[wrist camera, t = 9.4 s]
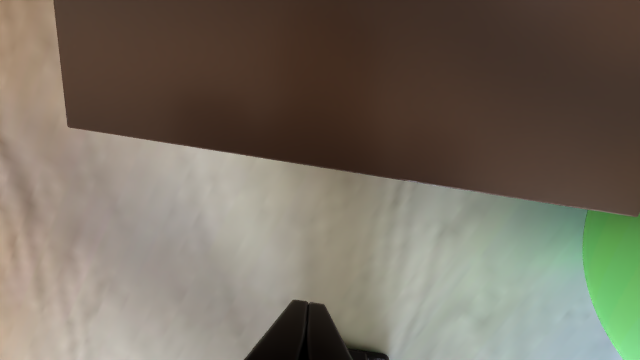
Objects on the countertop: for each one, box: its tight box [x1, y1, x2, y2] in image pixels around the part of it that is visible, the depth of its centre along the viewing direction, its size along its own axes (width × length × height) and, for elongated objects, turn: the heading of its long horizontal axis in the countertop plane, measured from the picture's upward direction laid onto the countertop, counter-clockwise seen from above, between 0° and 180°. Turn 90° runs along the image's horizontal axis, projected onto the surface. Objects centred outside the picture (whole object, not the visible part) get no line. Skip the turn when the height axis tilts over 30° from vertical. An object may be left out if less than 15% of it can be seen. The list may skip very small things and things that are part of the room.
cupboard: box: [54, 0, 640, 217], centre depth 13 cm, size 11×18×9 cm, turn 81°
